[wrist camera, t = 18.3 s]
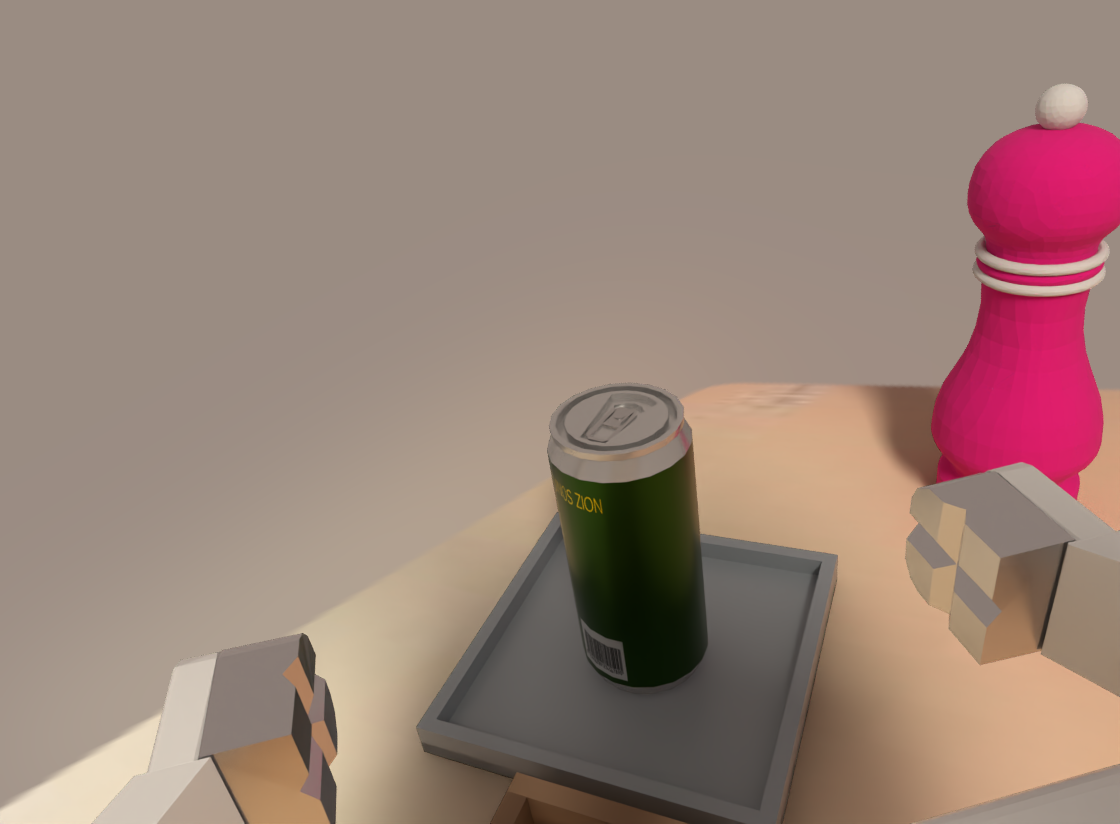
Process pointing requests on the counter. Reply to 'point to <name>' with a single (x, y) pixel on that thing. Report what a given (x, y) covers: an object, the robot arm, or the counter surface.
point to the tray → (647, 719)
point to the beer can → (631, 533)
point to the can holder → (565, 806)
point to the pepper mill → (1034, 299)
